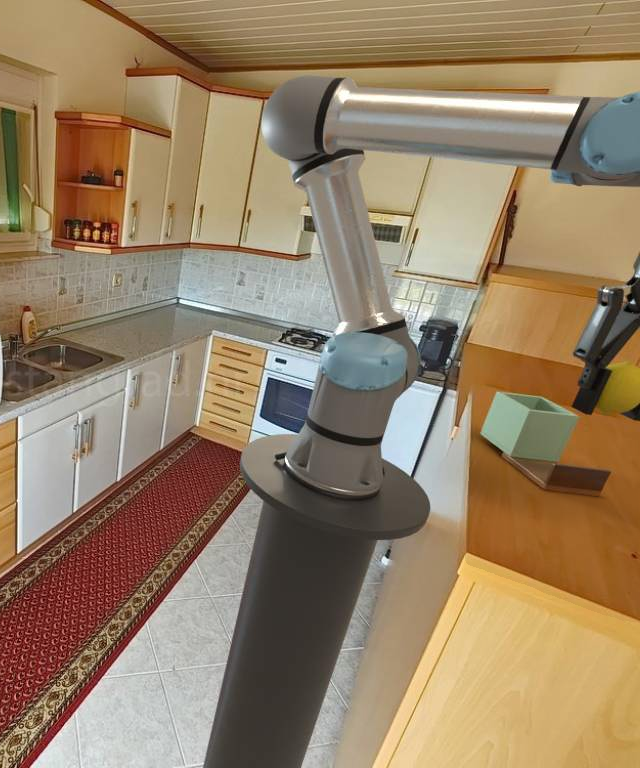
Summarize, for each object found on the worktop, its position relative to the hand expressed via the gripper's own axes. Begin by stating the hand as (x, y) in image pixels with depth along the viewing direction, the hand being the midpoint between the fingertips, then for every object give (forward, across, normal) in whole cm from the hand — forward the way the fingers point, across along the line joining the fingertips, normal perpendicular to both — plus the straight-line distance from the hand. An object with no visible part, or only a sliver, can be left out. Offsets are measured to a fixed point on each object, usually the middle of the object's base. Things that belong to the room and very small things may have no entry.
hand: (605, 413), depth 68 cm
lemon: (+1, 0, 0) cm, 1 cm away
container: (+18, +11, +27) cm, 34 cm away
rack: (+19, +11, +18) cm, 28 cm away
